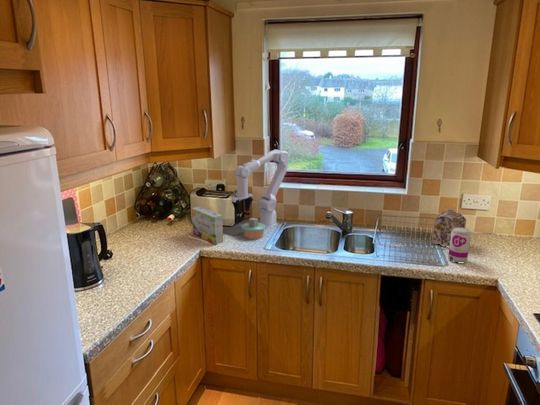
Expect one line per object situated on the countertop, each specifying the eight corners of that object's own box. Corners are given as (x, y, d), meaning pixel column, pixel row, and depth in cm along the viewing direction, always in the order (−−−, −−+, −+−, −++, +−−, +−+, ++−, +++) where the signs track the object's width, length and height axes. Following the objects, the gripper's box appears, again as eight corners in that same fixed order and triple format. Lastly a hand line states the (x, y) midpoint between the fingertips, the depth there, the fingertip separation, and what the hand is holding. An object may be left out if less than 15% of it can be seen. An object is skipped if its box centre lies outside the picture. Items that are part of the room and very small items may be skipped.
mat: (233, 224, 239) (233, 223, 239) (253, 230, 231) (253, 229, 230) (213, 231, 227) (213, 230, 227) (234, 237, 218) (234, 236, 218)
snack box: (191, 234, 222) (190, 207, 218) (200, 232, 226) (200, 206, 222) (214, 245, 207) (214, 216, 203) (223, 243, 210) (223, 214, 207)
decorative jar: (452, 249, 205) (457, 215, 200) (430, 243, 214) (434, 209, 209) (463, 244, 213) (468, 210, 208) (441, 238, 221) (445, 205, 217)
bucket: (252, 232, 227) (252, 223, 226) (267, 236, 221) (267, 227, 220) (240, 237, 219) (240, 228, 218) (255, 241, 213) (255, 232, 212)
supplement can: (464, 265, 186) (468, 234, 183) (445, 260, 192) (449, 230, 188) (469, 260, 192) (473, 229, 188) (451, 255, 198) (455, 225, 194)
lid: (252, 222, 228) (252, 213, 227) (270, 227, 220) (270, 218, 219) (236, 228, 218) (236, 219, 217) (255, 233, 210) (255, 224, 209)
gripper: (245, 184, 232) (245, 208, 235) (227, 189, 221) (228, 213, 224) (255, 186, 228) (255, 210, 231) (237, 191, 217) (237, 216, 220)
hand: (242, 212), depth 227 cm, fingers open, 7 cm apart
